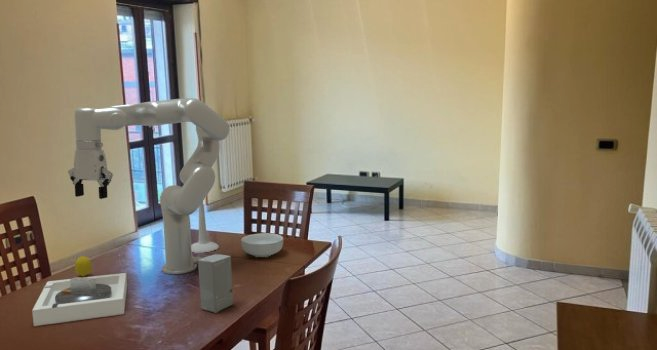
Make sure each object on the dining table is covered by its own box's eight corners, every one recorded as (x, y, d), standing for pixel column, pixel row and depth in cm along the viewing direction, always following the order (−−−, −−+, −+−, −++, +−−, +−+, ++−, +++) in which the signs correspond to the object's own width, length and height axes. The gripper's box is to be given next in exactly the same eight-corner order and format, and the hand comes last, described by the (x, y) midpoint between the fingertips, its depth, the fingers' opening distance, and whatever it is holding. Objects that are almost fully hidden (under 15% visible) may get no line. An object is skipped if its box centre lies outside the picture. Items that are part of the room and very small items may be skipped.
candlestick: (194, 243, 228) (191, 176, 223) (223, 244, 226) (220, 176, 221) (182, 252, 215) (178, 181, 210) (212, 253, 213) (209, 181, 209)
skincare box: (215, 314, 156) (213, 263, 153) (198, 308, 159) (196, 259, 157) (234, 304, 163) (233, 255, 160) (218, 299, 166) (215, 251, 164)
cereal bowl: (291, 252, 214) (291, 236, 213) (266, 264, 200) (265, 246, 199) (259, 246, 223) (259, 230, 222) (233, 257, 209) (232, 239, 208)
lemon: (86, 280, 185) (84, 258, 183) (72, 279, 186) (70, 257, 184) (95, 274, 190) (94, 253, 189) (82, 273, 191) (80, 252, 190)
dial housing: (127, 286, 179) (125, 271, 178) (123, 314, 156) (122, 297, 155) (48, 295, 171) (47, 280, 170) (33, 326, 148) (31, 309, 148)
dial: (121, 289, 169) (120, 271, 168) (90, 309, 154) (89, 290, 153) (78, 286, 172) (76, 269, 171) (43, 305, 157) (41, 286, 156)
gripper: (118, 145, 171) (120, 197, 174) (76, 143, 177) (79, 193, 179) (102, 147, 164) (104, 201, 167) (58, 145, 170) (61, 197, 172)
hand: (91, 197), depth 173 cm, fingers open, 9 cm apart
